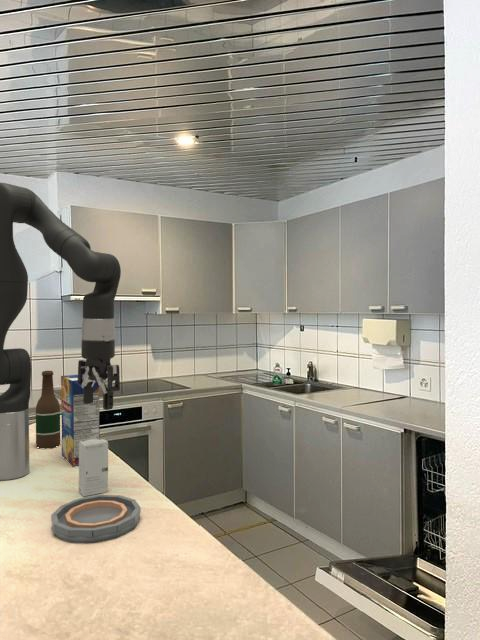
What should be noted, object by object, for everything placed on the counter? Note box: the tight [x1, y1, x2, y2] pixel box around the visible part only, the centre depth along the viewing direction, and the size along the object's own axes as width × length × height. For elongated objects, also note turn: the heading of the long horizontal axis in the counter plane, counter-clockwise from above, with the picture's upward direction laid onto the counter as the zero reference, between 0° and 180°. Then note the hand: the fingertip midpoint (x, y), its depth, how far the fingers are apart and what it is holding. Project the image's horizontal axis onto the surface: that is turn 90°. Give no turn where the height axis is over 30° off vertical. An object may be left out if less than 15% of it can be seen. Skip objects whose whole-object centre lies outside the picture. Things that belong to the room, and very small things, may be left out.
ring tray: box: [50, 494, 142, 544], centre depth 98 cm, size 17×17×2 cm
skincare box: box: [78, 438, 109, 497], centre depth 115 cm, size 6×4×12 cm
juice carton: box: [60, 374, 101, 468], centre depth 139 cm, size 12×8×24 cm, turn 35°
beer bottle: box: [35, 370, 61, 449], centre depth 153 cm, size 8×8×24 cm
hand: (97, 406), depth 113 cm, fingers open, 8 cm apart
